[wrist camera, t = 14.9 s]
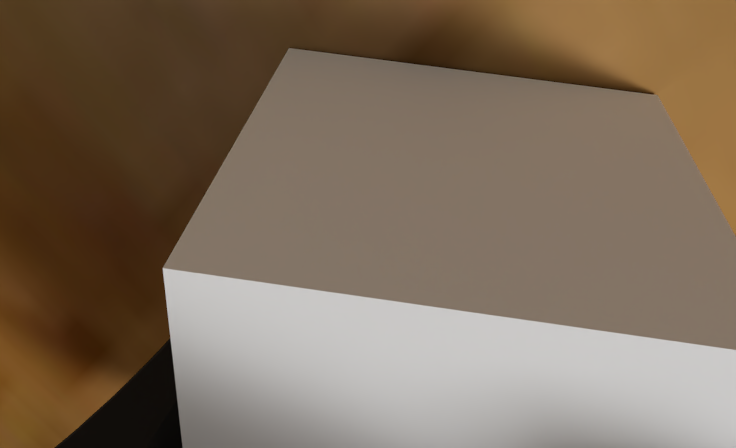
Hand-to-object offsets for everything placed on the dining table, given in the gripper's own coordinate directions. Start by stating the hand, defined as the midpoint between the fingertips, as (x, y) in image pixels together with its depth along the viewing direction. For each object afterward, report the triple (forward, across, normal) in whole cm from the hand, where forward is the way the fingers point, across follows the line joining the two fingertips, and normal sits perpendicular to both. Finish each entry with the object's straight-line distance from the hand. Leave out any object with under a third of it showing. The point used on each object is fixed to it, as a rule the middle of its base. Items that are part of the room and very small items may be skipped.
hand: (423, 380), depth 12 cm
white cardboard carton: (+2, 0, 0) cm, 2 cm away
